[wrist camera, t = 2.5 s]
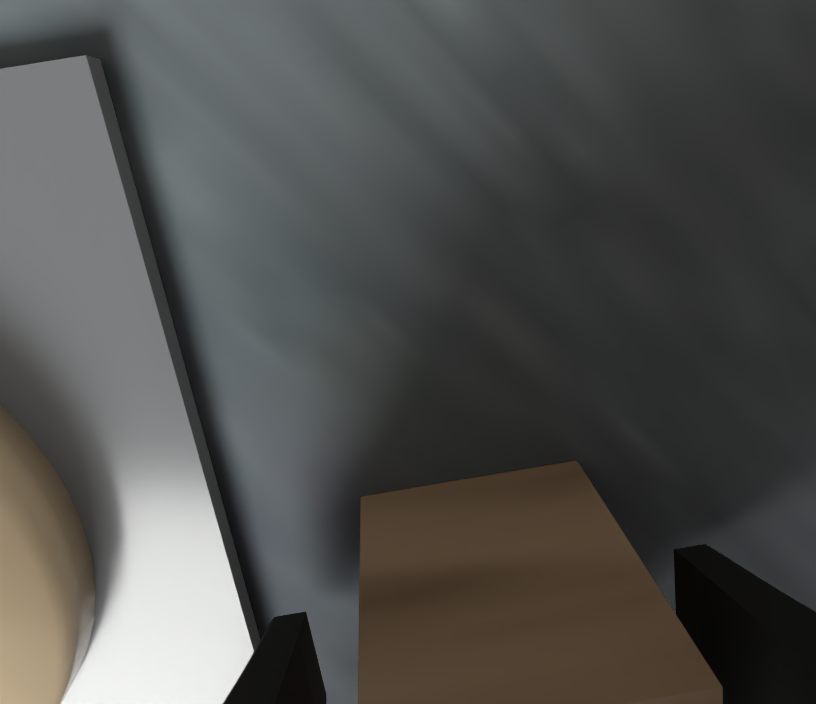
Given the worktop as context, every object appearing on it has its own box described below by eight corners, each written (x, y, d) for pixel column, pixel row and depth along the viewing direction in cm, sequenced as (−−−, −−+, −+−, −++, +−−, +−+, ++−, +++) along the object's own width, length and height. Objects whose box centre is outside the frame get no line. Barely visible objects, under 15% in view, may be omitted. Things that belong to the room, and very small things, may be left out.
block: (590, 635, 15) (724, 933, 10) (395, 668, 15) (412, 987, 10) (576, 459, 14) (723, 686, 8) (360, 495, 14) (357, 749, 8)
